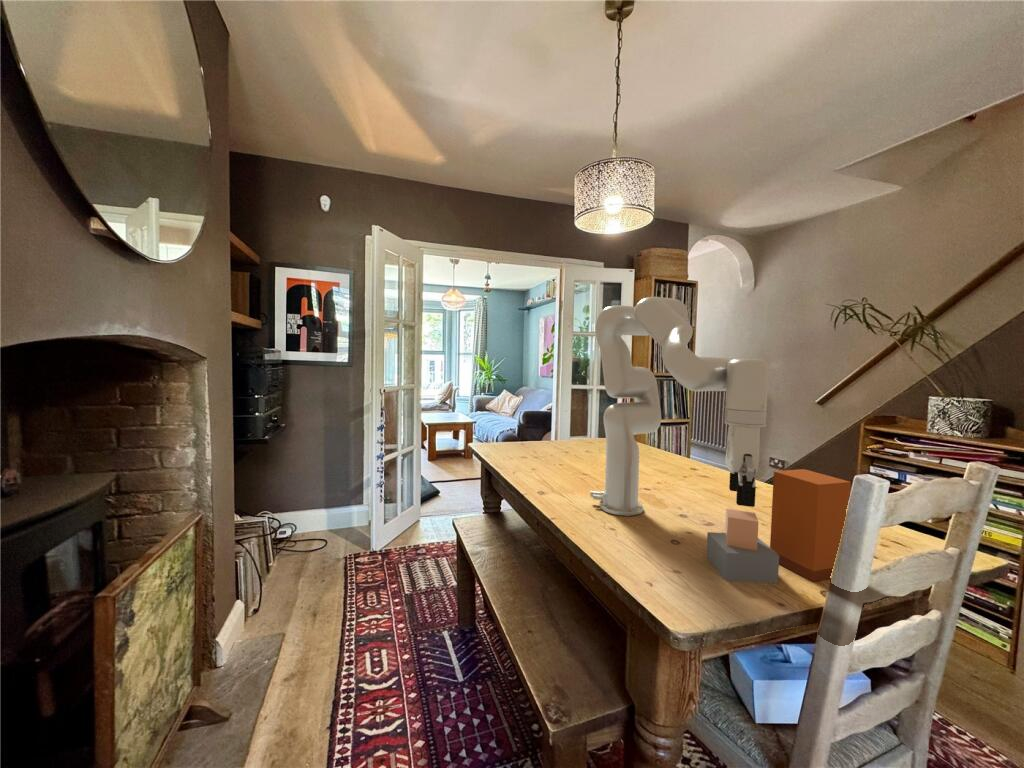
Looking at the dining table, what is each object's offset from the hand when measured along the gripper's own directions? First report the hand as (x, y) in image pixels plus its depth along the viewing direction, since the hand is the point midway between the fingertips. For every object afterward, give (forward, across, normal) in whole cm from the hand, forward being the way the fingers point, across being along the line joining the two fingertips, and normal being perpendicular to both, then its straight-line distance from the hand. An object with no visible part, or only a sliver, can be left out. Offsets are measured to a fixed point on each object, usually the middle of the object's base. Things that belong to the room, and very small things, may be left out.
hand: (741, 498), depth 87 cm
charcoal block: (+16, 0, 0) cm, 16 cm away
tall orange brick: (+16, -6, +14) cm, 22 cm away
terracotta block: (+10, 0, 0) cm, 10 cm away
